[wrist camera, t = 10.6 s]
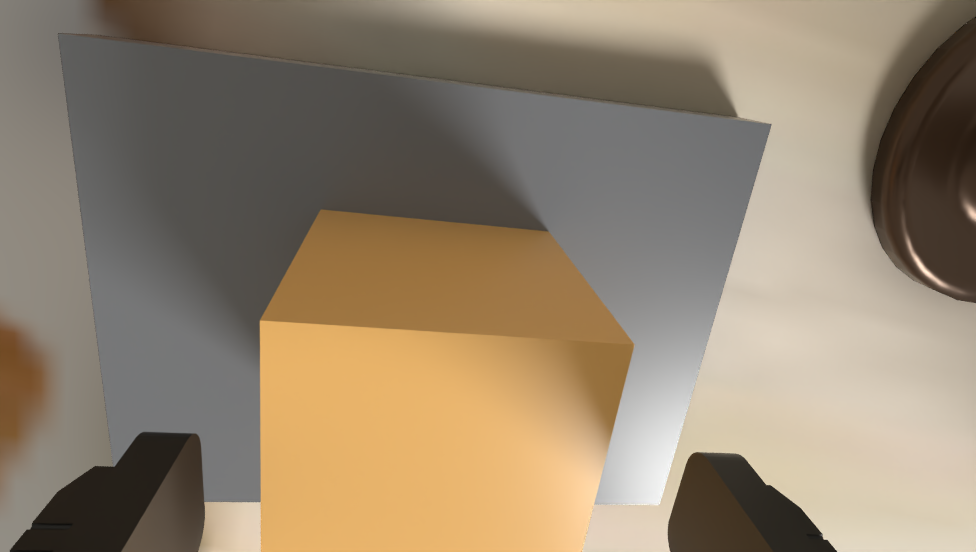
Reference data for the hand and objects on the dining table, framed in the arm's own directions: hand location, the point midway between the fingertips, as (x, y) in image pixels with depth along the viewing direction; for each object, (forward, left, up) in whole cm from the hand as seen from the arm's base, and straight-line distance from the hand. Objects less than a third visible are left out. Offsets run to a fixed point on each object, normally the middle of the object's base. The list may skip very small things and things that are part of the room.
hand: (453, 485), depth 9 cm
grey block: (0, 0, -8) cm, 8 cm away
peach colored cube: (0, 0, -6) cm, 6 cm away
